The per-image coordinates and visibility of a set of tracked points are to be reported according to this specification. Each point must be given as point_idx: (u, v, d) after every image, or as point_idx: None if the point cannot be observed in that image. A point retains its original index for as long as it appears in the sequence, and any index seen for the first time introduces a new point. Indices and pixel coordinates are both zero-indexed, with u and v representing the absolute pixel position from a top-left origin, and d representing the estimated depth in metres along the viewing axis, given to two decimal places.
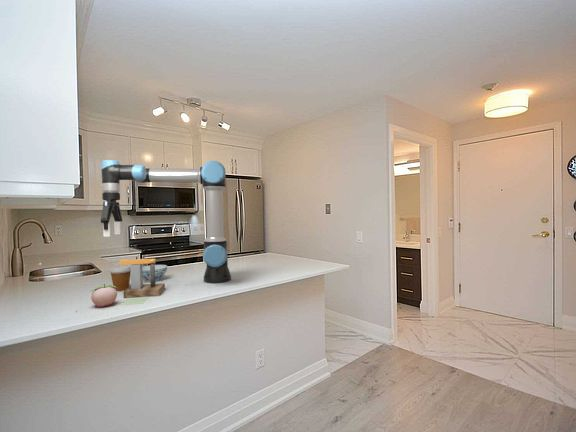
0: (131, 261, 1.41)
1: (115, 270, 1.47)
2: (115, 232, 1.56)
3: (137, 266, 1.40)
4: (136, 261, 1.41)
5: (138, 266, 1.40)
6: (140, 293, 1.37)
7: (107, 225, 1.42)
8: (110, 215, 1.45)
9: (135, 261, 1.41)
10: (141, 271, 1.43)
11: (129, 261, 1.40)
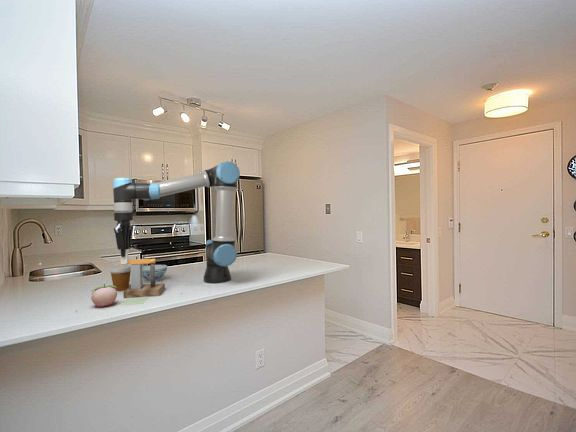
0: (131, 261, 1.41)
1: (115, 270, 1.47)
2: None
3: (137, 266, 1.40)
4: (136, 261, 1.41)
5: (138, 266, 1.40)
6: (140, 293, 1.37)
7: (124, 252, 1.38)
8: (125, 239, 1.38)
9: (135, 261, 1.41)
10: (141, 271, 1.43)
11: (129, 261, 1.40)
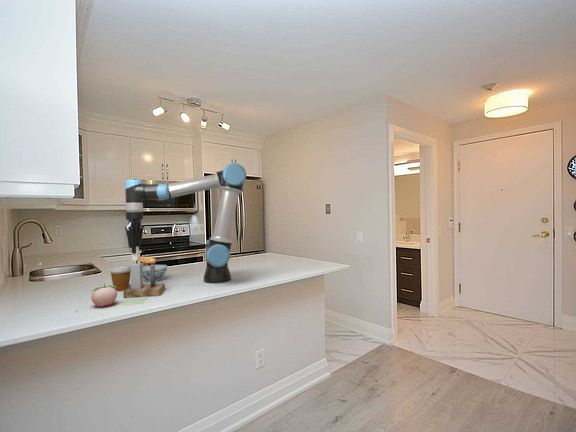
0: (140, 258, 1.48)
1: (115, 270, 1.47)
2: None
3: (137, 266, 1.40)
4: (142, 259, 1.46)
5: (138, 266, 1.40)
6: (140, 293, 1.37)
7: (135, 249, 1.47)
8: (136, 237, 1.47)
9: (142, 259, 1.47)
10: (141, 271, 1.43)
11: (139, 258, 1.48)
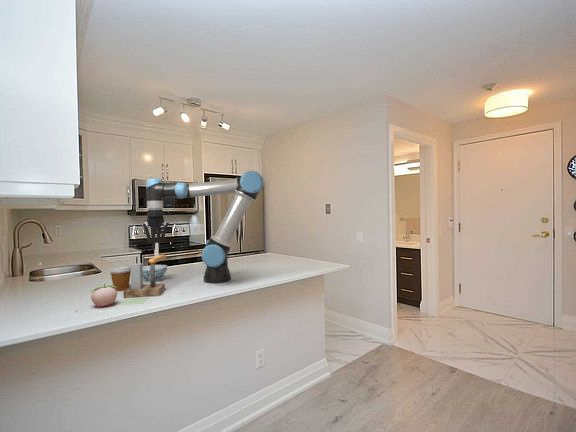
0: None
1: (115, 270, 1.47)
2: None
3: (137, 266, 1.40)
4: None
5: (138, 266, 1.40)
6: (140, 293, 1.37)
7: (153, 245, 1.54)
8: (154, 234, 1.53)
9: None
10: (141, 271, 1.43)
11: None
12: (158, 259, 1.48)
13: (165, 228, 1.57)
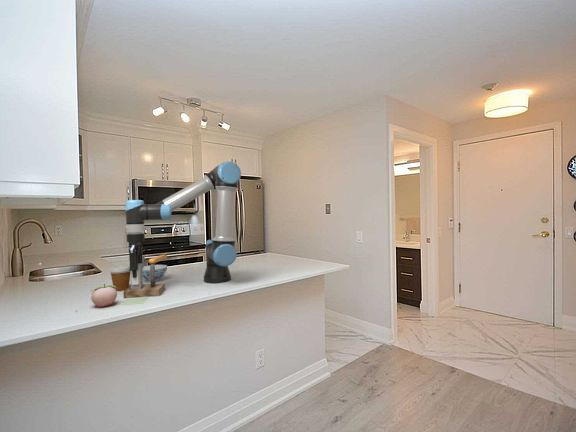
0: None
1: (115, 270, 1.47)
2: None
3: None
4: None
5: (138, 266, 1.40)
6: (140, 293, 1.37)
7: (136, 273, 1.39)
8: (137, 260, 1.40)
9: None
10: (141, 271, 1.43)
11: None
12: (158, 259, 1.47)
13: (142, 252, 1.47)
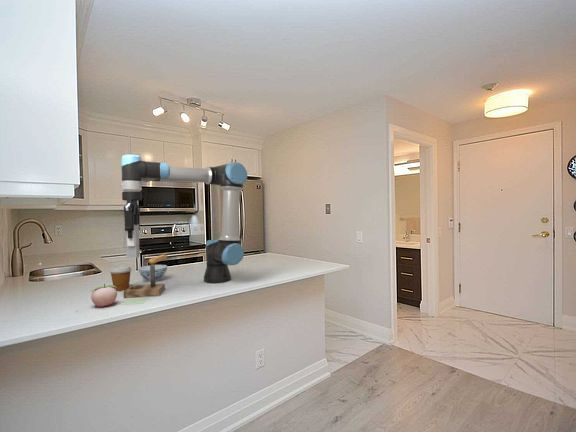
0: None
1: (115, 270, 1.47)
2: None
3: None
4: None
5: (134, 226, 1.30)
6: (140, 293, 1.37)
7: (131, 233, 1.28)
8: (133, 220, 1.29)
9: None
10: (137, 232, 1.32)
11: None
12: (158, 259, 1.47)
13: (139, 213, 1.37)
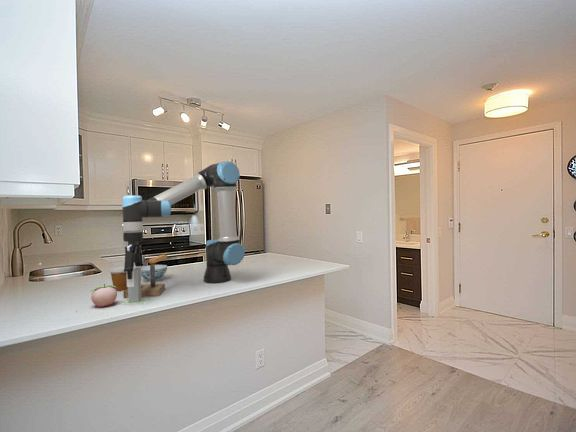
0: None
1: (115, 270, 1.47)
2: None
3: (135, 271, 1.29)
4: None
5: (136, 271, 1.29)
6: None
7: (131, 274, 1.25)
8: (133, 261, 1.27)
9: None
10: (139, 276, 1.32)
11: None
12: (158, 259, 1.47)
13: (140, 250, 1.37)
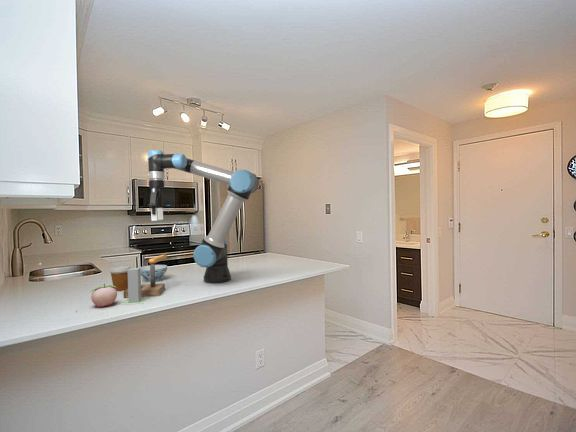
0: None
1: (115, 270, 1.47)
2: (158, 218, 1.67)
3: (135, 271, 1.29)
4: None
5: (136, 271, 1.29)
6: None
7: (155, 210, 1.54)
8: (157, 201, 1.56)
9: None
10: (139, 276, 1.32)
11: None
12: (158, 259, 1.47)
13: None
